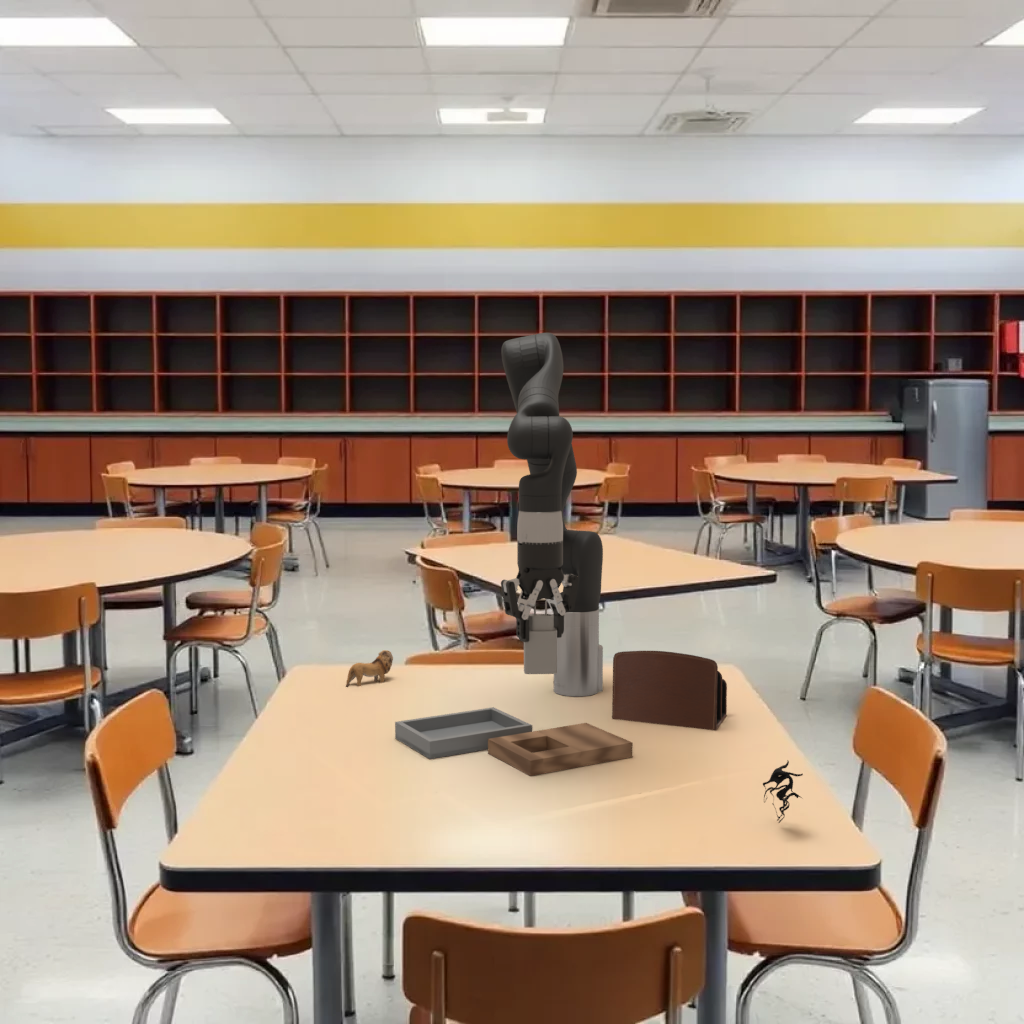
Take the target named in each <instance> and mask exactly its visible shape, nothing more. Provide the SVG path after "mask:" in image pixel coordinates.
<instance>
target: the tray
mask: <svg viewBox="0 0 1024 1024" xmlns="http://www.w3.org/2000/svg"><path fill="white" fill-rule="evenodd" d="M394 727H395V728H394V729H395V730H394V732H395V733H394V735H395V736H394V738H395V739H396V740H397V741H399V742H401V743H403V744H404V745H405V746H407V747H409V748H411V749H412V750H414V751H415V752H417V753H418V754H421V755H422V756H424V757H425V758H426V759H429V760H432V759H433V760H434V759H439V758H444V757H445V758H446V757H450V756H457V755H461V754H469V753H473V752H474V753H475V752H479V751H486V750H487V751H488V739H490V738H496V737H503V736H509V735H515V734H521V733H527V732H533V724H531V723H529V722H526V721H525V720H522V719H520V718H517V717H516V716H514V715H512V714H509V713H507V712H505V711H503V710H500V709H498V708H496V707H494V706H493V707H486V708H479V709H472V710H467V711H460V712H452V713H447V714H446V713H445V714H439V715H433V716H426V717H425V716H424V717H418V718H411V719H406V720H400V721H399V720H398V721H394Z"/></svg>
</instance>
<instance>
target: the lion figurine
mask: <svg viewBox="0 0 1024 1024" xmlns="http://www.w3.org/2000/svg"><path fill="white" fill-rule="evenodd" d="M393 661H394V656H393V653H392V651H390V650H387V649H384V650H383V649H382V651H380V652H378V656H377V657H376V658H375V659H374V660H373V661H372V662H367V663H364V662H356V663H354V664H352V665H351V666H350V668H349V670H348V673H347V677H346V682H345V683H346V684H345V685H346V686H345V687H347V688H349V686H350V683H351V682H352V681H353V680H354V679H356V686H357V687H362V680H363V677H367V678H372V677H373V678H374V679H373V680H374V682H378V681H379V683H381V684H382V683H383V684H384V681H385V677H386V676H385V675H386V674H389V672H390V671H391V668H392V665H393ZM378 679H379V680H378Z"/></svg>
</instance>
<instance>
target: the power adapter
mask: <svg viewBox="0 0 1024 1024" xmlns="http://www.w3.org/2000/svg"><path fill="white" fill-rule="evenodd" d="M536 602H537V601H536ZM536 602H535V605H534V607H533V613H529V616H528V618H527V619H528V620H529V642H523V672H524V674H525V675H554V674H556V673H557V629H556V628H554V615H552V614H551V613H548V602H547V601H546V600H544V603H545V604H544V613H537V603H536Z"/></svg>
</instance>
